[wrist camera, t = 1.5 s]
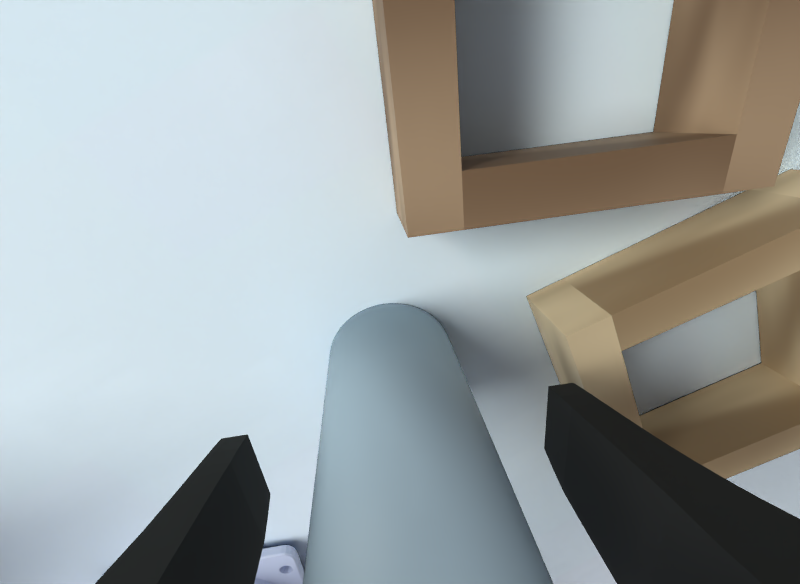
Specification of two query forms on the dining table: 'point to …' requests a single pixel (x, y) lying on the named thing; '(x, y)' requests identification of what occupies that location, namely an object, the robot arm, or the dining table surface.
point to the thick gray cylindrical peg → (410, 466)
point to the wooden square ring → (602, 158)
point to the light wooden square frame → (685, 300)
